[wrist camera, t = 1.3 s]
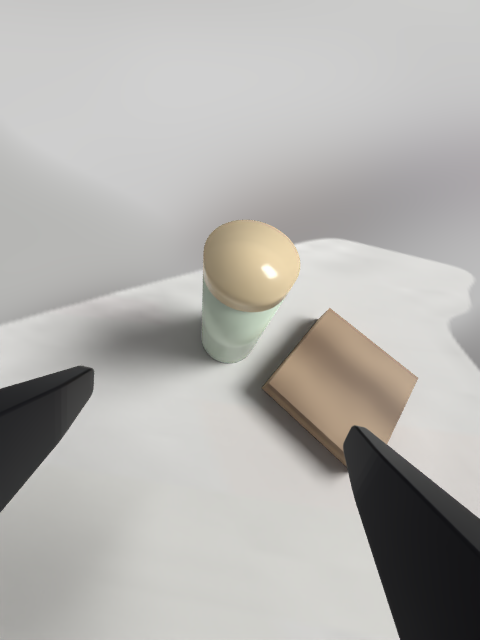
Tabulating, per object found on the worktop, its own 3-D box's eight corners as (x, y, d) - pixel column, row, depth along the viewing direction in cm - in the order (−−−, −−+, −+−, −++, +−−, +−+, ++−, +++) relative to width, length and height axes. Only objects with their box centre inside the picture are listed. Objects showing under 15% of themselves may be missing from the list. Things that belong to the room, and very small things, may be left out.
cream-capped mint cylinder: (230, 374, 22) (259, 318, 11) (190, 337, 23) (181, 251, 12) (264, 337, 24) (317, 259, 13) (227, 304, 25) (248, 206, 14)
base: (351, 472, 20) (371, 477, 18) (261, 388, 22) (268, 382, 19) (397, 383, 24) (418, 378, 22) (318, 318, 26) (329, 308, 24)
